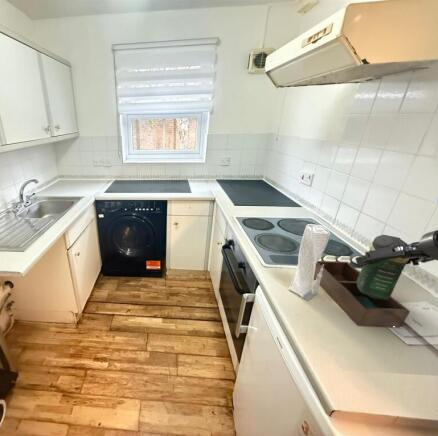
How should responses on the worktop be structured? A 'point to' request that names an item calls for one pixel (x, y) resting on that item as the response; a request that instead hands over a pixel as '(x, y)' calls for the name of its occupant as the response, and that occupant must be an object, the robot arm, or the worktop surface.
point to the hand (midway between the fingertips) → (373, 262)
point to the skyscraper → (309, 261)
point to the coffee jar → (381, 270)
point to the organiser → (358, 297)
